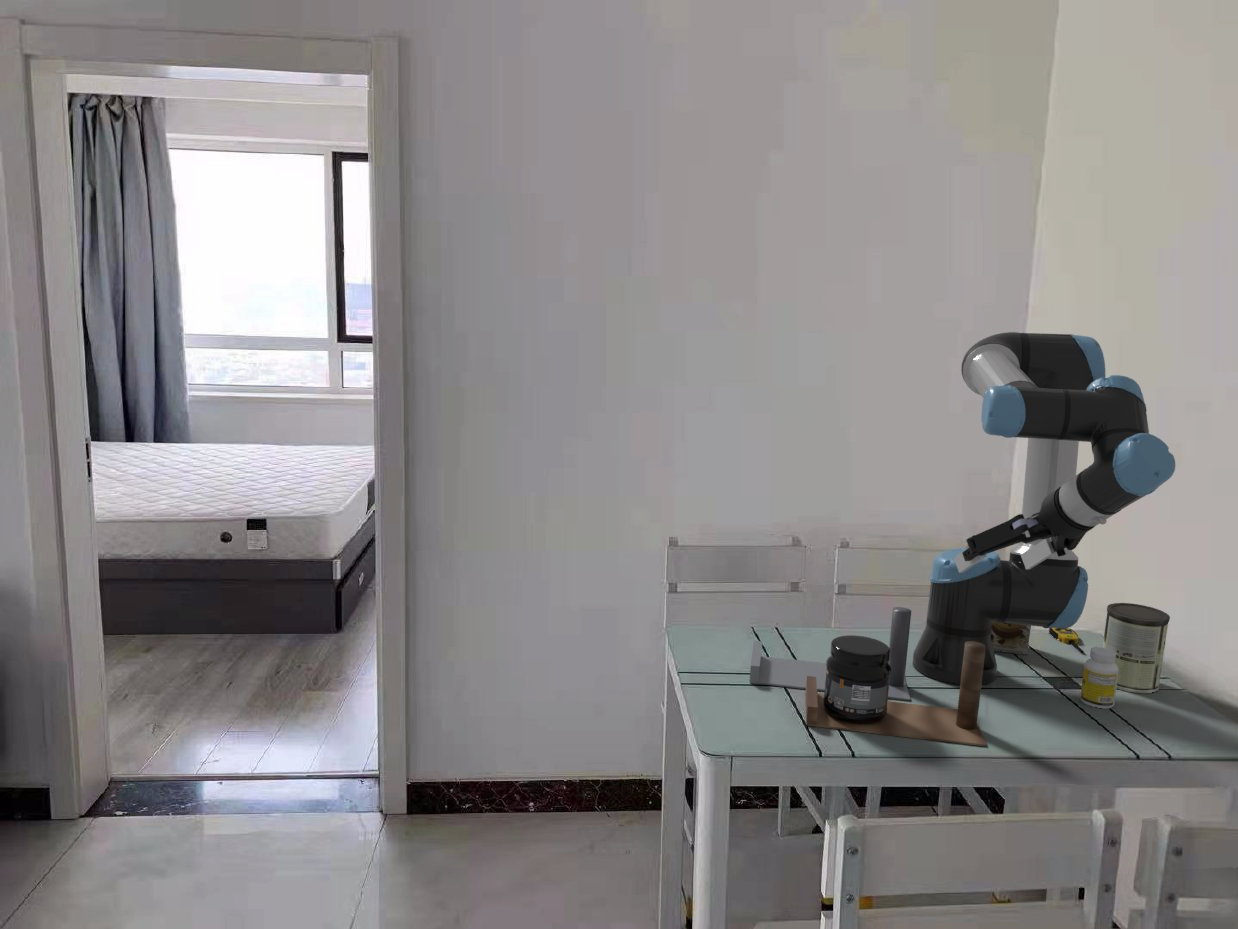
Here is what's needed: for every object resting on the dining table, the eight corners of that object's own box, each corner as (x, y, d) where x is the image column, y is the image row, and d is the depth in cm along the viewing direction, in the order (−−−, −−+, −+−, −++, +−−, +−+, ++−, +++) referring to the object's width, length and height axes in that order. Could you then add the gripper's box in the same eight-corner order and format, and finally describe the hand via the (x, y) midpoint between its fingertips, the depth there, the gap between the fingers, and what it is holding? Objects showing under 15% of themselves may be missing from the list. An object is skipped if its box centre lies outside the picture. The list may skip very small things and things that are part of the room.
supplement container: (855, 695, 165) (861, 630, 163) (900, 719, 156) (907, 650, 154) (809, 706, 160) (814, 639, 158) (853, 731, 151) (859, 661, 149)
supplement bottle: (1086, 694, 171) (1093, 643, 169) (1118, 704, 167) (1125, 651, 166) (1075, 702, 167) (1082, 650, 166) (1107, 712, 164) (1114, 659, 162)
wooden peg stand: (971, 712, 161) (980, 632, 159) (986, 746, 149) (996, 660, 146) (805, 693, 166) (811, 616, 164) (806, 725, 153) (813, 642, 151)
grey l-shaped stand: (902, 672, 177) (909, 600, 175) (910, 700, 165) (918, 622, 162) (752, 656, 182) (757, 585, 180) (749, 683, 170) (754, 607, 167)
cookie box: (980, 650, 191) (989, 573, 189) (976, 639, 198) (984, 565, 195) (1028, 655, 189) (1038, 578, 187) (1022, 644, 196) (1031, 569, 193)
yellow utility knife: (1067, 623, 206) (1096, 647, 191) (1066, 631, 206) (1094, 656, 191) (1044, 622, 206) (1071, 646, 191) (1043, 630, 206) (1070, 655, 192)
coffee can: (1088, 670, 183) (1098, 600, 181) (1144, 674, 182) (1154, 604, 180) (1110, 691, 173) (1121, 618, 170) (1169, 696, 172) (1180, 622, 170)
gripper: (1019, 531, 134) (936, 587, 152) (1153, 526, 142) (1060, 581, 160) (1001, 484, 138) (922, 545, 155) (1132, 482, 146) (1043, 541, 163)
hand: (992, 563), depth 157 cm, fingers open, 13 cm apart
